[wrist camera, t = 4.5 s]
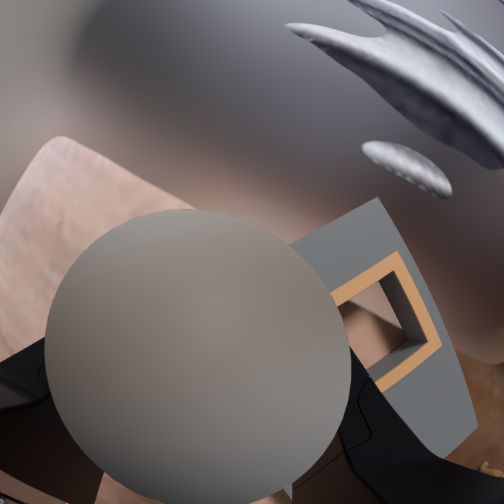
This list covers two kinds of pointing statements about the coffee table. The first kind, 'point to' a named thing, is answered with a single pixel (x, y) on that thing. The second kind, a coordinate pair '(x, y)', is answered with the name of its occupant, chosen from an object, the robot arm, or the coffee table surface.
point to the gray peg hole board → (410, 318)
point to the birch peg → (197, 358)
